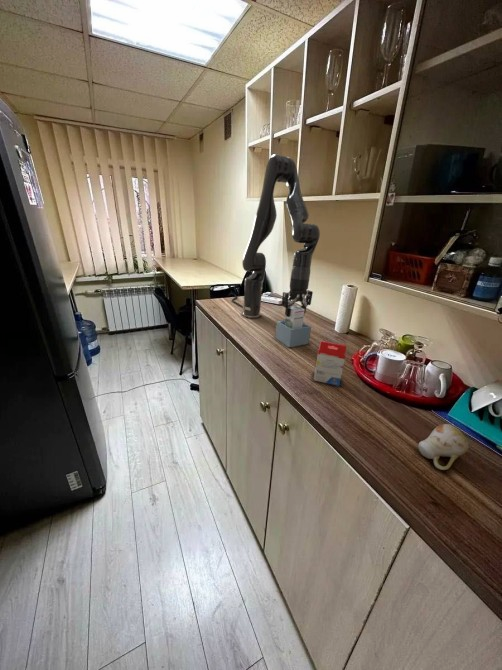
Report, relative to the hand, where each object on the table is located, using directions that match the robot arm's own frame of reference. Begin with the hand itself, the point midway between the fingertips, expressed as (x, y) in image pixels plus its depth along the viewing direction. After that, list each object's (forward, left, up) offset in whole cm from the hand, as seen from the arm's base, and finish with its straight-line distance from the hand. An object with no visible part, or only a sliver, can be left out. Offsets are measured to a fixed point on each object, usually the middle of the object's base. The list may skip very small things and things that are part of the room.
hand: (295, 315), depth 116 cm
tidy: (0, 0, -12) cm, 12 cm away
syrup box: (0, 0, -11) cm, 11 cm away
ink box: (+31, -8, -12) cm, 34 cm away
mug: (+67, -6, -12) cm, 68 cm away
